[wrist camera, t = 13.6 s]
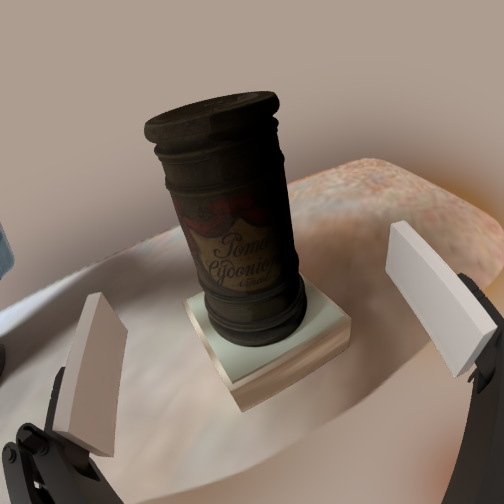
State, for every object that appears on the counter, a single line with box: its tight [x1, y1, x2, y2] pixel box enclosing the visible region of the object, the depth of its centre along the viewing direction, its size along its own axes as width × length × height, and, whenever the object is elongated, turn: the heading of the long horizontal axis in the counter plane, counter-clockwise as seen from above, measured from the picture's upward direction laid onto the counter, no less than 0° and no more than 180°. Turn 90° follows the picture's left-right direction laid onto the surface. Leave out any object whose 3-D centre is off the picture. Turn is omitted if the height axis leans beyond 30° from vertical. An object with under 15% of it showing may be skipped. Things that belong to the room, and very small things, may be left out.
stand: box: [182, 272, 352, 412], centre depth 28 cm, size 12×12×5 cm
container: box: [144, 91, 307, 347], centre depth 21 cm, size 9×9×18 cm
